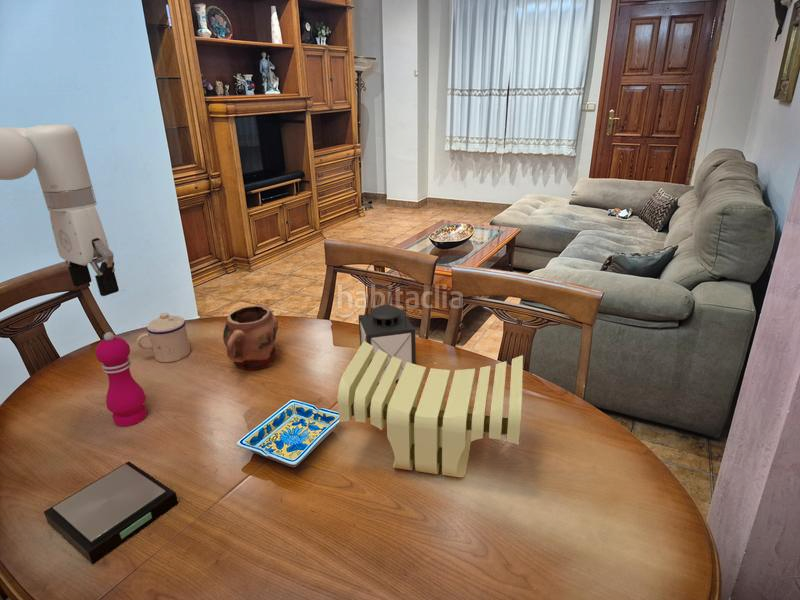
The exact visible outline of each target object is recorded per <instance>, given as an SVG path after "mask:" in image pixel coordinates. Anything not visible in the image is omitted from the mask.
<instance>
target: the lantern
mask: <svg viewBox="0 0 800 600" xmlns="http://www.w3.org/2000/svg"><path fill="white" fill-rule="evenodd" d="M377 262H381V263H382V262H383V263H386V264H389V265H391V266H392V267H393V268H394V269H395V270H396V271H397V272H398V274H399V277H400V279H401V283H402V287H403V289H402V290H403V298H404V302H403V303H404V309H399V307H397V306H394V305H390V304H381V305H378V306H376V307H374V308H373V309H371V310H370V312H369V308H368V297H367V273H368V270H369V268H370V267H371V265H372V264H374V263H377ZM405 289H406V288H405V284H404V279H403V277H402V274H401V272H400V270H399V269H398V268H397V267H396V266H395V265H394V264H393V263H390V261H389V262H388V261H386V260H374V261H373V262H371V263H370V264H369V265H368V266H367V268H366V271H365V275H364V293H365V294H364V295H365V303H366V314H358V315H357V316H358V332H359V345H360V346H361V345H362V343H363V342H364V341H365V342H367V343H368V344H370V345H372V346H374V355H373V357H372V359H373V358H374V356H375V354H376V352H377V351H378V349H379V350H381V351H383V352H385V353H387V354H388V361H387V363H386V365H385V367H384V370H383V372H382V374H381V377H380V379H379V382H378V385H379V383H380V381H381V378H382V376H383V374H384V372H385V370H386V368H387V366H388V364H389V362H390V360H391V358H392V356H394V357H396V358H398V359H401V360H402V367H401V370H400V372H399V375H398V377H397V380H396V382H395V384H397V383H398V381H399V379H400V376H401V374H402V372H403V370H404V367H405V365H406V363H407V362H409V363H412V364H415V365H417V364H416V362H417V361H416V360H417V359H416V353H417V352H416V328H415V327H414V326H413V324H412V323H411V321H410V320H409V318H408V316H407V308H406V307H407V305H406V290H405ZM360 346H359V347H360ZM372 359H371V361H372ZM371 361H370V363H371ZM370 363H369V365H370ZM369 365H368V367H369ZM368 367H367V368H368ZM366 370H367V369H366ZM365 372H366V371H365ZM378 385H377V387H378Z"/></svg>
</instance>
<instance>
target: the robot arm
mask: <svg viewBox="0 0 800 600" xmlns="http://www.w3.org/2000/svg"><path fill="white" fill-rule="evenodd" d="M33 170H35V172H36V175H37V178H38V181H39V186H40V189H41V191H42V195H43V198H44V201H45V204H46V208H47V211H49V217H50V223H51V229H52V233H53V237H54V241H55V245H56V248H57V252H58V255H59V257H60V258H61V259H62V260H64V261H65V264H66V266H67V268H68V271H69V276H70V278H71V282H72V284H73V286H74V287H80V286H84V285H87V284H89V283H92V277H91V273H90V270H89V264H90V265H91V267H92V269H93V270H94V272H95V274H96V275H94V278H95V281H96V284H97V288H98V292H99V295H100V296H101V297H106V296H110V295H112V294H114V293H115V294H116V293H118V292H119V290H120V289H119V285H118V284H119V283H118V281H117V277H116V273H115V272H116V269H115V262H114V253H113V251H112V250H111V249H110V248H109V243H108V240H107V239H108V238H107V236H106V233H105V230H104V227H103V224H102V221H101V218H100V216H99V212H98V210H97V208H96V206H97V204H98V202H97V200H96V199H97V198H96V195H95V192H94V187H93V184H92V181H91V177H90V173H89V169H88V165H87V162H86V157H85V154H84V150H83V147H82V143H81V138H80V135H79V132H78V131H77V129H76V128H75V127H74V126H72V125H70V124H66V123H65V124H64V123H57V124H56V123H54V124H40V125H33V126H30V127H9V126H0V181H12V180H13V181H14V180H20V179H22V178H25V177H26V176H28V175H29V174H31V172H33ZM99 264H100V266H99Z"/></svg>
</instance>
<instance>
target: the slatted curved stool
mask: <svg viewBox="0 0 800 600" xmlns="http://www.w3.org/2000/svg"><path fill="white" fill-rule="evenodd" d="M373 355H374V346H372V345H370V344H368V343H367V342H365V341H364V342H363V343H362V345H361V346H359V348H358V349H357V351H356V353H355V355H354V356H353V357H352V359H351V360H350V362H349V363H348V365H347V367H346V368H345V370H344V371H343V373H342V374H341V378H340V381H339V384H338V390H337V411H338V422H339V423H344V422H350V421H351V420H352V418H353V417H354V422H357V423H364V424H366V422H367V421H368V418H369V419H370V425H372V426H374V427H376V428H377V429H379V430H380V431H383V428H384V427H385V424H386V438H387V440H388V441H389V444H390V446H391V449H392V452H393V455H394V456H393V457H394V460H393V464H392V467H393V468H394V469H398V470H399V469H400V470H407V471H413V469H414V470H415V472H421V473H426V474H427V473H428V474H435V475H438V474H439V472H440V469H441V474H442V476H448V477H454V478H455V477H456V478H464V477H465V476H466V473H467V469H468V463H469V457H470V449H471V445H472V442H474V441H476V440H481V439H484V433H488V439H493V440H499V441H500V440H502V435H505V436H506V442H508V443H513V444H514V445H517V446H519V444H520V433H521V421H522V403H523V372H524V371H523V369H524V354H522V355H519V356H517V357H514V358H512V359H511V366H510V367H511V368H510V382H509V383H510V384H509V399H508V415H507V417H503V416H504V415H503V413H504V399H505V387H506V375H507V360H505V361H502V362H499V363H495V369H494V376H493V377H494V379H493V387H492V394H491V405H490V412H489V413H490V414H489V415H487V406H488V398H489V397H488V395H489V388H490V379H491V367H492V365H486V366H481V367H480V368H479V373H478V380H477V385H476V391H475V398H474V404H473V409H472V413H470V412H471V403H472V398H473V391H474V386H475V381H476V368H468V369H467V368H466V369H455V370H454V373H453V377H452V381H451V385H450V388H449V393H448V398H447V401H446V405H445V400H446V399H445V398H446V393H447V389H448V386H449V381H450V378H451V369H440V368H433V367H430V369H429V373H428V375H427V378H426V381H425V384H424V387H423V390H422V392H421V389H422V386H423V383H424V380H425V376H426V374H427V367H426V366H423V365H419V364H416V365H415V364H412V363H409V362H407V363H406V365H405V367H404V370H403V372H402V374H401V376H400V379H399V381H398V383H395V382H396V380H397V377H398V375H399V372H400V370H401V367H402V360H401V359H398V358H396V357H394V356H392V358H391V360H390V362H389V364H388V366H387V368H386V370H385V372H384V374H383V376H382V378H381V381H380V383H379V385H378V382H379V379H380V377H381V374H382V372H383V370H384V367H385V365H386V363H387V361H388V354H387V353H385V352H383V351H381V350H379V349H378V351H377V352H376V354H375V356H374V358H373V359H372V357H373ZM371 359H372V361H371ZM370 361H371V363H370ZM369 363H370V365H369ZM368 365H369V367H368ZM367 367H368V368H367ZM366 369H367V370H366ZM365 371H366V372H365ZM377 385H378V386H377ZM395 385H396V386H395ZM420 393H421V396H420ZM419 396H420V397H419ZM419 398H420V399H419ZM418 400H419V401H418ZM444 405H445V408H444ZM443 409H444V410H443Z"/></svg>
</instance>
